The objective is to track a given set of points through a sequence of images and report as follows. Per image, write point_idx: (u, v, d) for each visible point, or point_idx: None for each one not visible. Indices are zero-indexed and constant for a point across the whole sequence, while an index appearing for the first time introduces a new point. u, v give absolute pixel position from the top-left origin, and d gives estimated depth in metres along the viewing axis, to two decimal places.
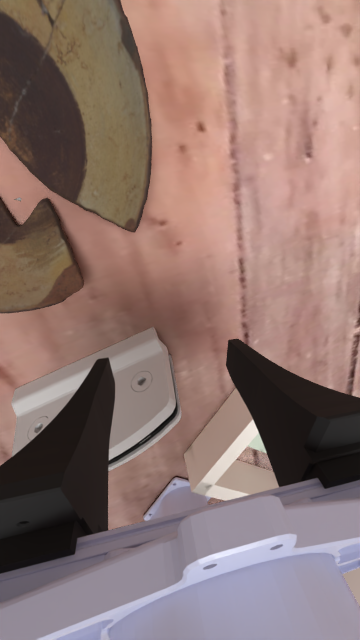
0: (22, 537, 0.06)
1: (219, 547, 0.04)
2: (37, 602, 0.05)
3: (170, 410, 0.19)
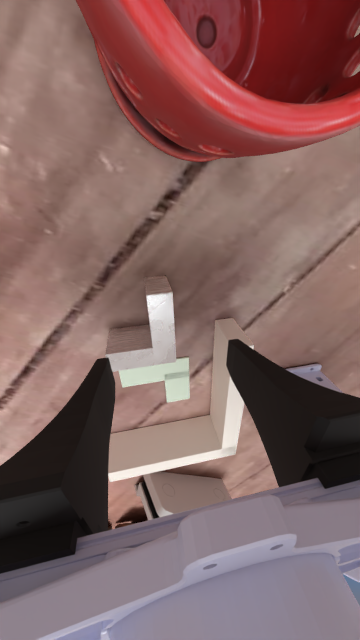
0: (22, 537, 0.06)
1: (219, 547, 0.04)
2: (37, 602, 0.05)
3: None
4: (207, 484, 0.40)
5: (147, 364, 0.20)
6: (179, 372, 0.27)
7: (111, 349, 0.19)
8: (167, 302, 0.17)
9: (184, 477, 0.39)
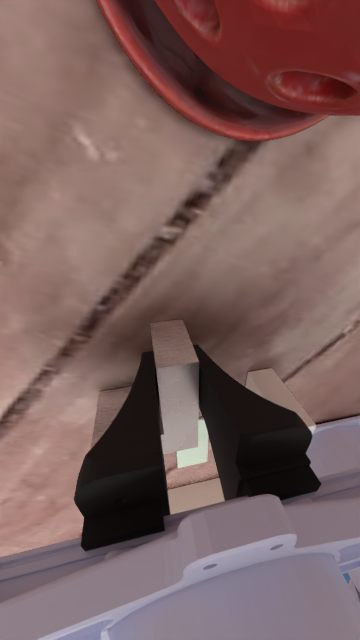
0: (116, 514, 0.07)
1: (219, 547, 0.04)
2: (37, 602, 0.05)
3: None
4: None
5: None
6: None
7: (100, 436, 0.13)
8: (190, 375, 0.11)
9: None
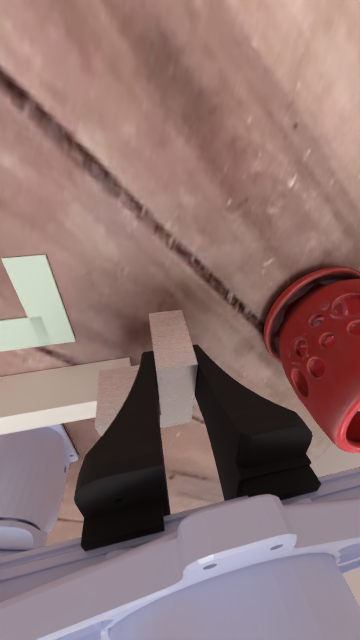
0: (116, 514, 0.07)
1: (219, 547, 0.04)
2: (37, 602, 0.05)
3: None
4: None
5: None
6: (47, 334, 0.20)
7: (103, 416, 0.14)
8: (188, 374, 0.11)
9: None
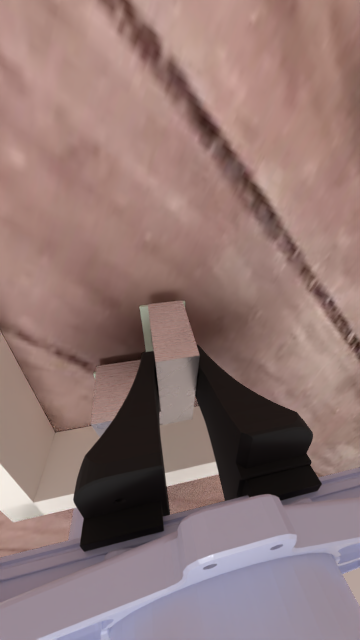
0: (115, 515, 0.07)
1: (219, 547, 0.04)
2: (37, 602, 0.05)
3: None
4: None
5: None
6: None
7: (99, 412, 0.13)
8: (189, 366, 0.11)
9: None
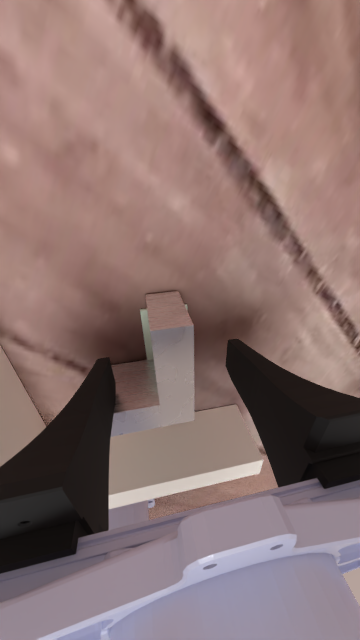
0: (23, 537, 0.06)
1: (219, 547, 0.04)
2: (37, 602, 0.05)
3: None
4: None
5: (151, 426, 0.13)
6: None
7: None
8: (185, 340, 0.11)
9: None
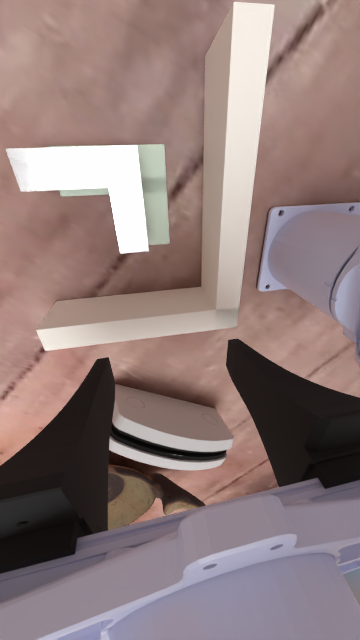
0: (22, 537, 0.06)
1: (219, 547, 0.04)
2: (37, 602, 0.05)
3: (112, 444, 0.22)
4: (194, 408, 0.30)
5: (139, 198, 0.14)
6: (150, 178, 0.17)
7: None
8: (24, 158, 0.12)
9: (162, 397, 0.29)
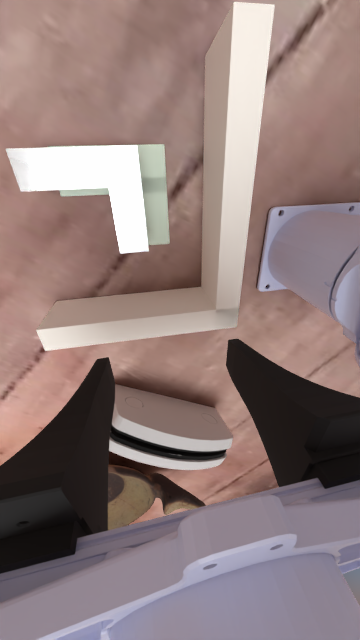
0: (22, 537, 0.06)
1: (219, 547, 0.04)
2: (37, 602, 0.05)
3: (111, 444, 0.22)
4: (194, 408, 0.30)
5: (139, 198, 0.14)
6: (150, 178, 0.17)
7: None
8: (24, 158, 0.12)
9: (161, 397, 0.29)
